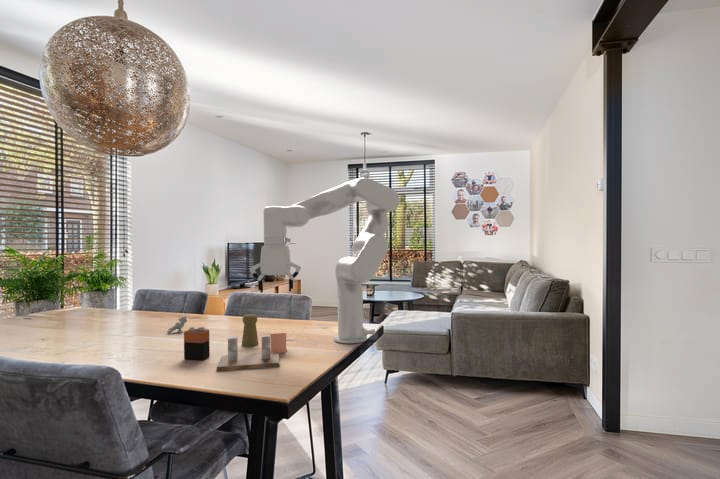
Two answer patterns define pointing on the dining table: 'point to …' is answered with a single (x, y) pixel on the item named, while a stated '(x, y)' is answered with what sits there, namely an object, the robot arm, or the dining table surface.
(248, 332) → the cork
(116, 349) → the dining table surface
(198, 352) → the battery
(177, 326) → the grey animal figurine
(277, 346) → the salmon pink foam cube
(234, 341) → the peg stand
